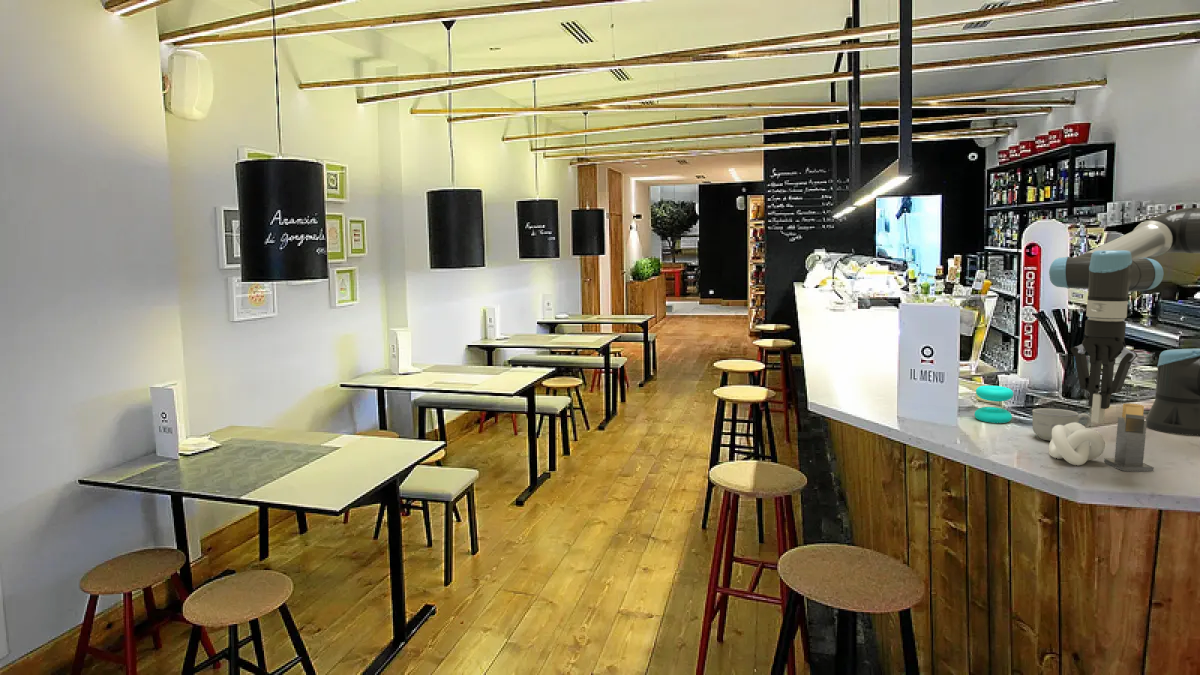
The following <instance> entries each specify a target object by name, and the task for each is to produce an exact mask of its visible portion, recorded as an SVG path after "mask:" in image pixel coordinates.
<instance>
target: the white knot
mask: <svg viewBox="0 0 1200 675" xmlns="http://www.w3.org/2000/svg"><path fill="white" fill-rule="evenodd" d="M1105 448H1106V440H1105V438H1104V436H1103V435H1102V434H1101V433H1100V432H1099V431H1097V430H1095V429H1093V428H1085V427H1084V426H1083V424H1082V423H1079V422H1078V423H1076V422H1074V423H1069V424H1066V425H1064V426H1063V425H1056V426H1054V427H1053V429H1052V439H1051V441H1050V442H1049V445H1048V453H1049V455H1050V456H1051V457H1052V458H1053V459H1056V458H1057V460H1062V459H1064V460H1065V461H1066V462H1067V463H1069V464H1070V465H1073V466H1076V465H1077V466H1082V465H1085V464H1086V462H1087V461H1092V460H1096V459H1097V458H1099V457H1100V456H1102V455H1103V453H1104V451H1105Z"/></svg>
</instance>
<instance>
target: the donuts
mask: <svg viewBox="0 0 1200 675" xmlns="http://www.w3.org/2000/svg"><path fill="white" fill-rule="evenodd" d="M975 394H976V395H977V397H979V398H980V399H983V400H985V401H990V402H1005V401H1009V400H1011V399H1012V398H1013V397H1014V391H1013V390H1012V389H1011V388H1010V387H1006V386H1000V385H988V384H987V385H980V386H978V387H976V390H975ZM974 418H976V420H979V421H980V422H985V423H989V424H1007V423H1009V422H1011V420H1012V418H1013V415H1012V413H1011V412H1010V411H1009V410H1007V409H1005V408H1002V407H998V406H997V407H996V406H982V407H979V408H977V409H975V411H974Z"/></svg>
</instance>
